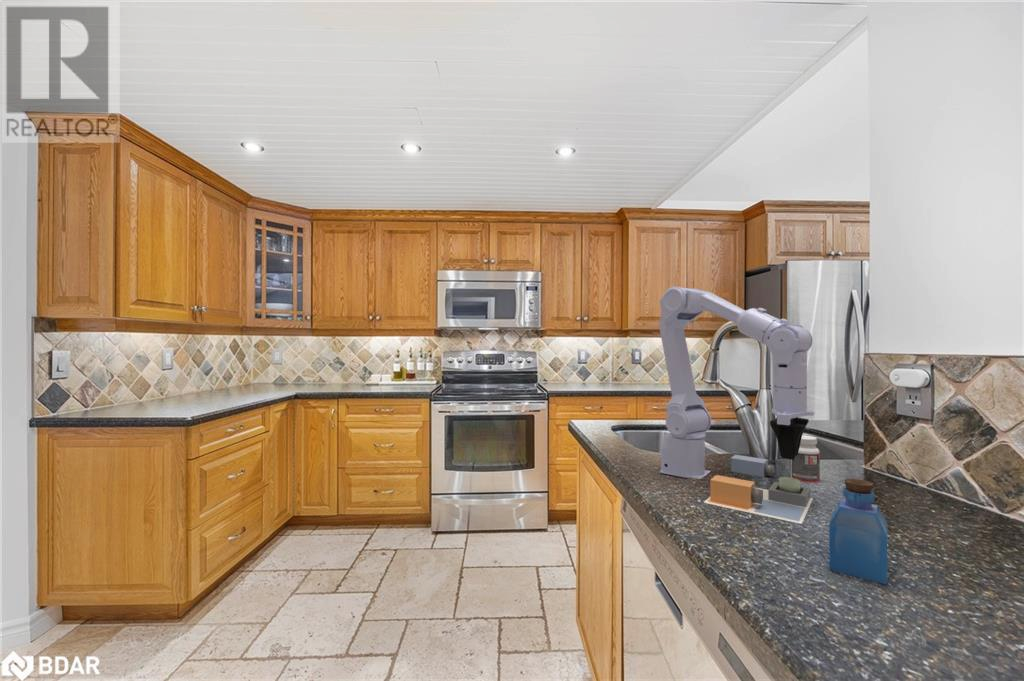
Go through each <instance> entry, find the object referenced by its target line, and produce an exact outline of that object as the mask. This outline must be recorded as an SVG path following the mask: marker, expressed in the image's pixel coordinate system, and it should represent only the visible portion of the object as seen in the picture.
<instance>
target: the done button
mask: <svg viewBox="0 0 1024 681" xmlns="http://www.w3.org/2000/svg"><path fill="white" fill-rule="evenodd" d="M778 483H779V489H780V490H781V491H786V492H792V493H800V486H801V481H800V480H798V479H795V478H790V476H779V477H778Z"/></svg>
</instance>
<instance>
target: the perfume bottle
mask: <svg viewBox="0 0 1024 681" xmlns="http://www.w3.org/2000/svg"><path fill="white" fill-rule="evenodd" d="M844 485H845V486H844V487H843V488H842V495H843V497H845V498H841V500H840V501H839V503H838V504H837V506H836V507H835V508H834V510H833V512H832V515H831V517H830V522H829V524H828V526H829V527H828V532H829V535H828V536H829V538H828V542H829V543H828V544H829V545H828V546H829V547H828V552H829V553H828V555H829V556H828V561H829V562H828V564H829V565H828V566H829V567H828V570H829V571H833V572H838V573H841V574H845V575H848V576H853V577H856V578H858V579H859V578H860V579H864V580H868V581H871V582H874V583H878V584H883V585H886V586H887V585H888V521H887V520H886V518H885V516H884V514H883V513H882V511H881V510H880V508H879V507H878V505H877V504H873V503H872V502H875V493H874V491H873V490H872V489H873V486H874V484H873V482H870V481H868V480H864V479H859V478H845V479H844Z"/></svg>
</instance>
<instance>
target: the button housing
mask: <svg viewBox="0 0 1024 681" xmlns="http://www.w3.org/2000/svg"><path fill="white" fill-rule="evenodd" d="M767 490H768V500H771V501H776V502H781V503H786V504H791V505H796V506H802V507H807V505H808V502H809V500H810V498H811V488H810V487H806V486H801V485H800V493H792V492H786V491H781V490H780V489H779V482H776V481H773V483H772V485H771V486H770V487H769V488H768V489H767Z"/></svg>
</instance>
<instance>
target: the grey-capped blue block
mask: <svg viewBox="0 0 1024 681" xmlns="http://www.w3.org/2000/svg"><path fill="white" fill-rule="evenodd" d="M768 462H769V459H766V458H759V457H753V456H748V455H738V454H733V456H731V457H730V472H731V473H736V474H742V475H748V476H754V477H759V478H765V477H771V478H774V476H775V465H774V464H773V465H772V464H769V463H768Z"/></svg>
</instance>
